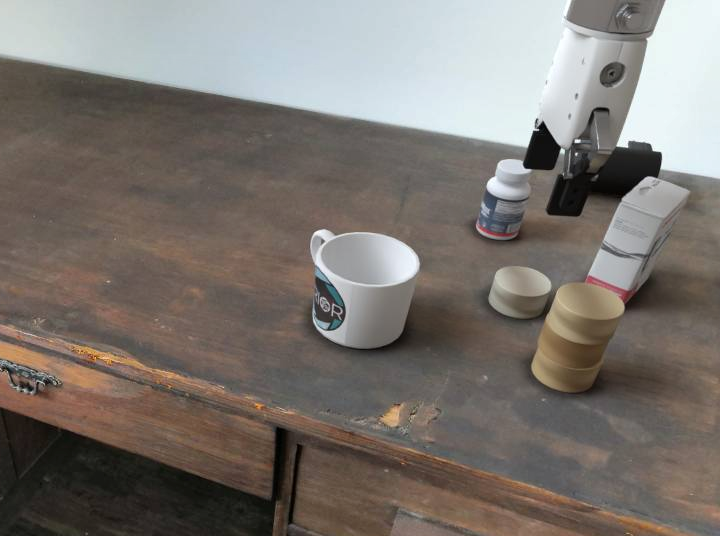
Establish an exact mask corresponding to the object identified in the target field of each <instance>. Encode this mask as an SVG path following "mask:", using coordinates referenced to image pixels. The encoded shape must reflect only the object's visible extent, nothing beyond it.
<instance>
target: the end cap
mask: <svg viewBox="0 0 720 536" xmlns="http://www.w3.org/2000/svg"><path fill="white" fill-rule="evenodd" d="M579 143H589V144H591V141H590V140H580V141H579ZM587 157H588V154H587V153H576V155H575V164H576V163H577V162H578V161H580V160H581V159H582V158H587ZM662 162H663V153H662V152H661V151H658V150H657V151H655V150H654V149H653V146H652V144H651V143H649V142H646V141H642V142H641V141H636V140H628V142H627V147H625V146H617V145H616V147H615V149H614V150H613V151H612V154H611V156H610V157H609V158H608V160H607V161H606V162H605V164H604V165H603V166H604V168H603V170H602V171H601V172H600V173H599V174H598V178H597V179H596V181H594V182H593V184H592V187H591V190H590V192H589V193H592V194H593V193H595V194H602V195H607V196H615V197H622V198H623V197H624V196H625V195H626V194H627V193H629V192H630V191H631V190H632V189H633V188H634V187H635V186H637V185H638V184H639V183H640V182H641V181H642V180H644V178H646V177H655V178H658V179H659V176H660V172H661V169H662V164H663V163H662Z"/></svg>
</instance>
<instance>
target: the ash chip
mask: <svg viewBox="0 0 720 536" xmlns="http://www.w3.org/2000/svg"><path fill="white" fill-rule="evenodd" d="M552 285H553V284H552V283H551V280H550V279H549V278H548V277H547V276H546V275H545V274H543V273H542V272H541V271H538V270H536V269H534V268H530V267H527V266H521V265H520V266H519V265H508V266H504V267H502V268H500V269H499V270H497V271H496V273H495V275H494V278H493V280H492V284H491V288H490V291H489V294H488V302H489V304H490V306H491V307H492V309H494V310H495V311H497V312H498V313H500V314H502V315H504V316H507V317H510V318H515V319H520V320H521V319H524V320H525V319H534V318H536V317H539V316H541V314H542V313H543V312H544V310H545V307H546V305H547V301H548V299H549V296H550V293H551V290H552Z"/></svg>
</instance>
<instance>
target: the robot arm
mask: <svg viewBox="0 0 720 536" xmlns="http://www.w3.org/2000/svg"><path fill="white" fill-rule="evenodd" d="M665 3H666V0H567V2H566V5H565V7H564V10H563V14H562V16H561V24H562V25H563V26H564V27H565V28H564V31H563V33H562V36H561V38H560V40H559V43H558V46H557V49H556V51H555V53H554V57H553V59H552V63H551V64H550V68H549V71H548V74H547V77H546V80H545V84H544V86H543V90H542V95H541V97H540V102H539V114H538V115H537V116H536V118H535V120H534V125H533V127H534V130H532V133H531V136H530V139H529V141H528V144H527V145H528V146H527V149H526V152H525V156H524V158H523V160H522V161H523V167H524V168H525V169H532V171H533V170H534V171H553V170H554V169H555V168H556V166H557V162H558V159H559V157H560V154H561V151H562V150H563V151H564V155H563V157H564V158H563V168H562V169H563V170H562V173H558V174H557V175H556V179H555V182H554V184H553V188H552V191H551V193H550V196H549V199H548V202H547V204H546V207H545V212H546V214H547V215H548V216H553V217H572V218H578V217H579V216H581V215H582V213H583V210H584V208H585V206H586V203H587V200H588V197H589V195H590V193H591V192H590V190H591V187H592V184H593V182H594V181H596V179H597V178H598V174H599V173H600V172H601V171H602V170H603V168H604V166H603V165H604V164H605V162H606V161H607V160H608V158H609V157H610V156H611V154H612V151H613V150H614V149H615V147H616V146H617V145H618V143H619V141H620V137H621V134H622V132H623V129H624V127H625V123H626V121H627V118H628V115H629V112H630V109H631V106H632V103H633V100H634V97H635V94H636V90H637V87H638V85H639V80H640V77H641V73H642V71H643V70H642V69H643V66H644V61H645V57H646V54H647V53H646V52H647V49H648V48H647V47H648V42H649V41H648V39H649V38H650V37H652V36H653V34H654V32H655V29H656V27H657V24H658V22H659V19H660V16H661V14H662V11H663V8H664V5H665ZM576 140H580V141H581V140H590V141H591V144H589V143H580V142H576ZM578 153H587V154H588V157H587V158H582V159H581V160H580V161H578V162H577V163H576V164H575V156H576V154H578Z"/></svg>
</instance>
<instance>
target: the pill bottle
mask: <svg viewBox="0 0 720 536" xmlns="http://www.w3.org/2000/svg"><path fill="white" fill-rule="evenodd" d="M523 161H524V160H520V159H515V158H507V159H506V158H505V159H502V160H499V162H498V163H497V166H496V168H495V169H496V170H495V174H494V176H492V177H491V178H490V179H489V180H488V181H487V184H486V186H485V190H484V193H483V198H482V201H481V206H480V209H479V212H478V217H477V218H476V219H477V220H476V223H475V227H476V230H477V232H478V233H479V234H480V235H482V236H484V237H485V238H488V239H492V240H496V241H508V240H512V239H514V238H515V237H517V236H518V234H519V232H520V228H521V225H522V222H523V218H524V215H525V211H526V208H527V205H528V203H529V199H530V196H531V192H532V188H531V185H530V183H529V180H530V179H531V176H532V172H533V169H525V168H524V167H523Z"/></svg>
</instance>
